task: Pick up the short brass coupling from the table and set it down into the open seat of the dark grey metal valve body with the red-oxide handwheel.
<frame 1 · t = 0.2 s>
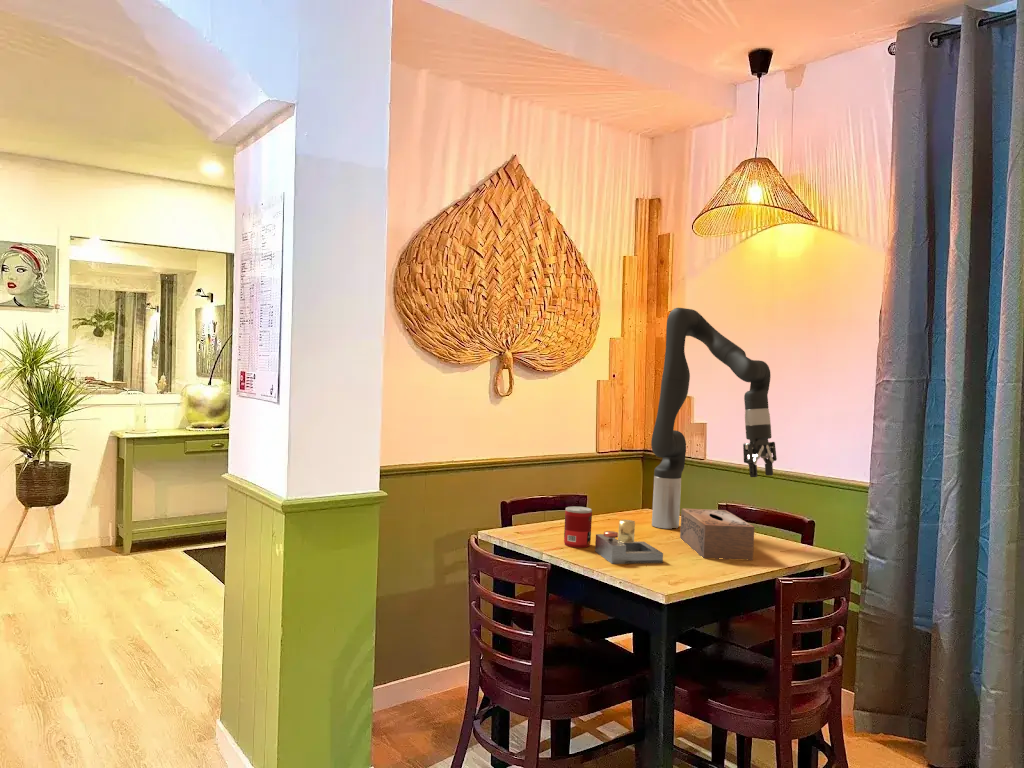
hand: (761, 476, 237), 22 cm above the table, tool pointing down, fingers open, 8 cm apart
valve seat: (634, 557, 218), on the table
tissue box cover: (714, 550, 234), on the table
canned food: (577, 545, 230), on the table
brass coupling: (625, 543, 235), on the table
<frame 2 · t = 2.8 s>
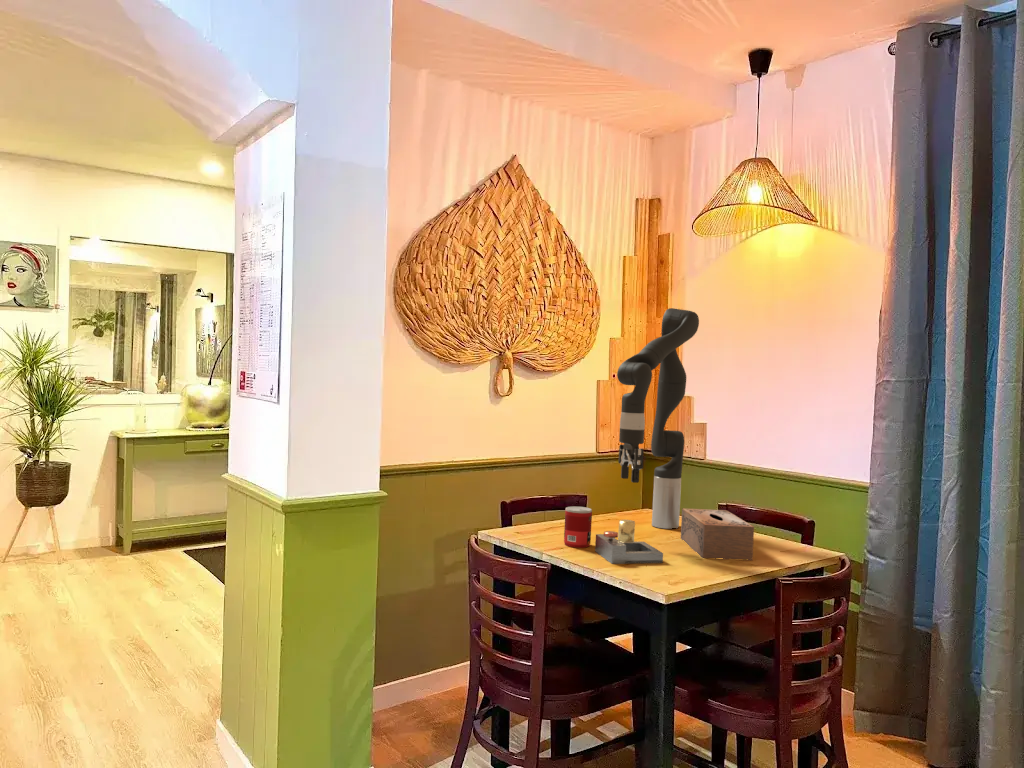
hand: (629, 480, 234), 20 cm above the table, tool pointing down, fingers open, 8 cm apart
nothing on the table moved.
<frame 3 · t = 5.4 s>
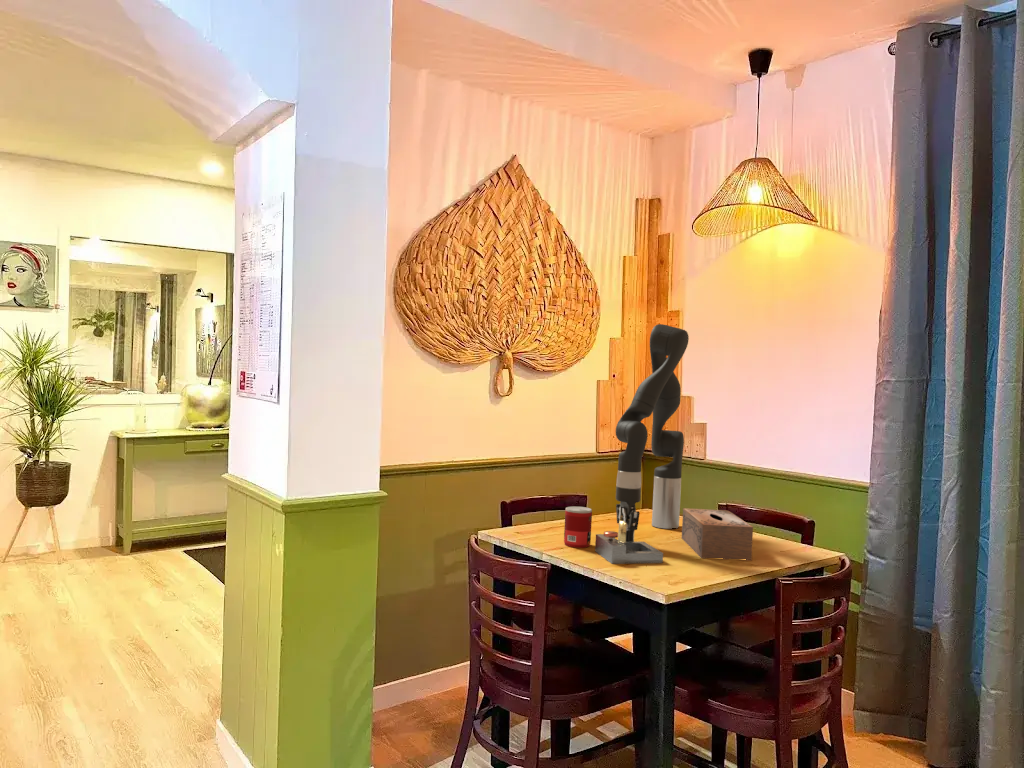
hand: (626, 540, 235), 1 cm above the table, tool pointing down, fingers closed on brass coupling, 4 cm apart
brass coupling: (625, 543, 235), on the table, touching gripper
everything else where it was.
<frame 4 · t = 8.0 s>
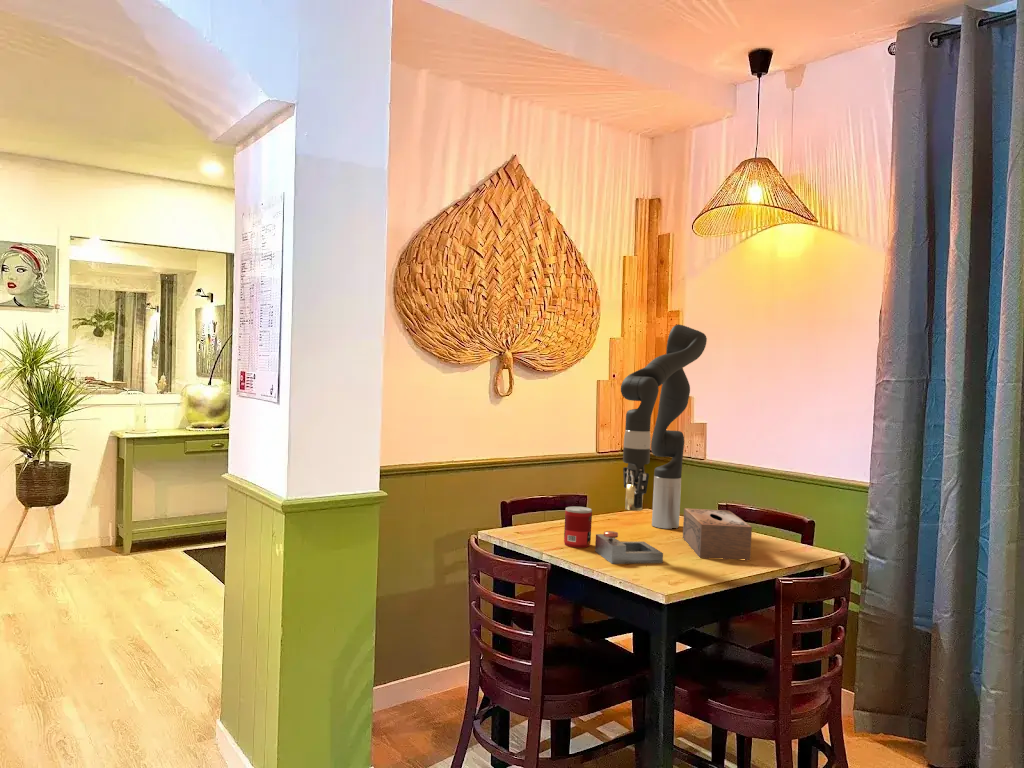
hand: (634, 505, 218), 15 cm above the table, tool pointing down, fingers closed on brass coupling, 4 cm apart
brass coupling: (633, 509, 218), point 14 cm above the table, touching gripper
everything else where it was.
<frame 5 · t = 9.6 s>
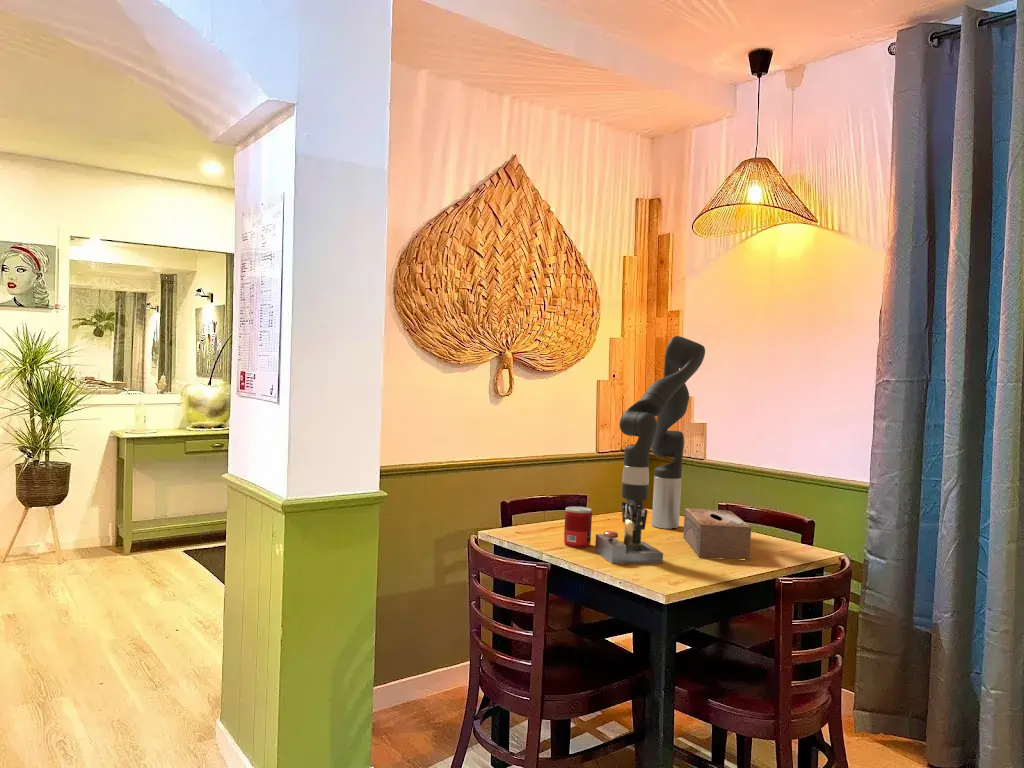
hand: (632, 541, 218), 5 cm above the table, tool pointing down, fingers closed on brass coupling, 4 cm apart
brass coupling: (632, 544, 218), point 4 cm above the table, touching gripper
everything else where it was.
when the fingers open (3 cm above the table, at t = 10.8 s): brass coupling drops 1 cm, resting on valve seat.
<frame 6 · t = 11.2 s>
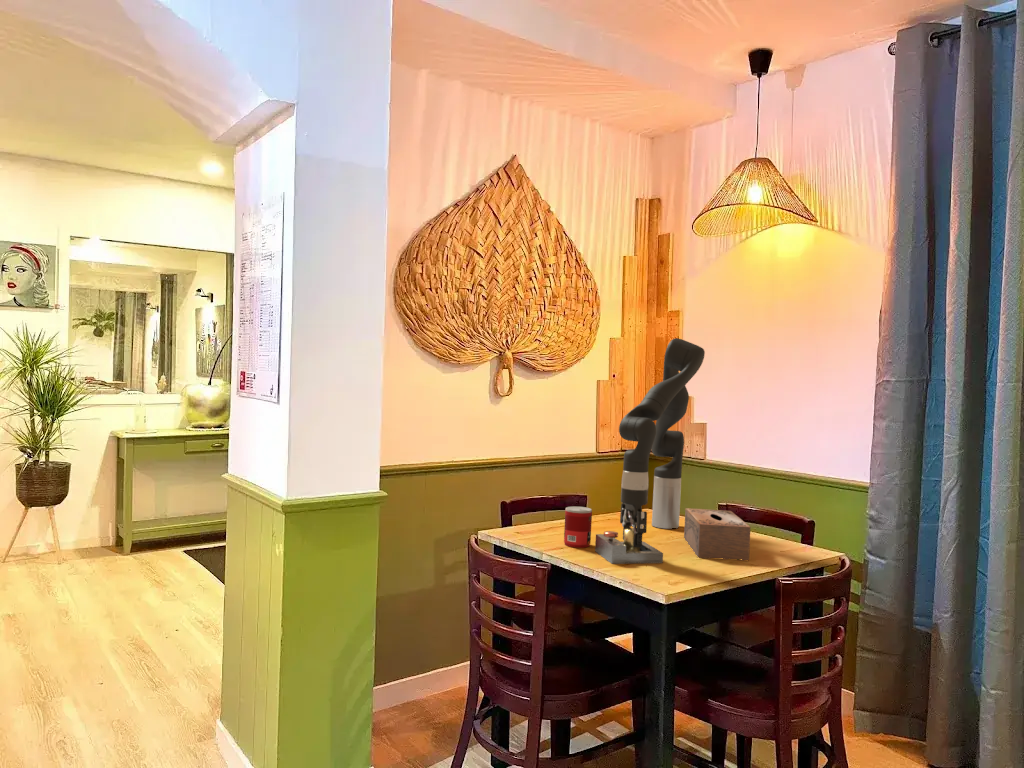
hand: (632, 543, 218), 4 cm above the table, tool pointing down, fingers open, 8 cm apart
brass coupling: (631, 554, 218), point 1 cm above the table, touching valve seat
everything else where it was.
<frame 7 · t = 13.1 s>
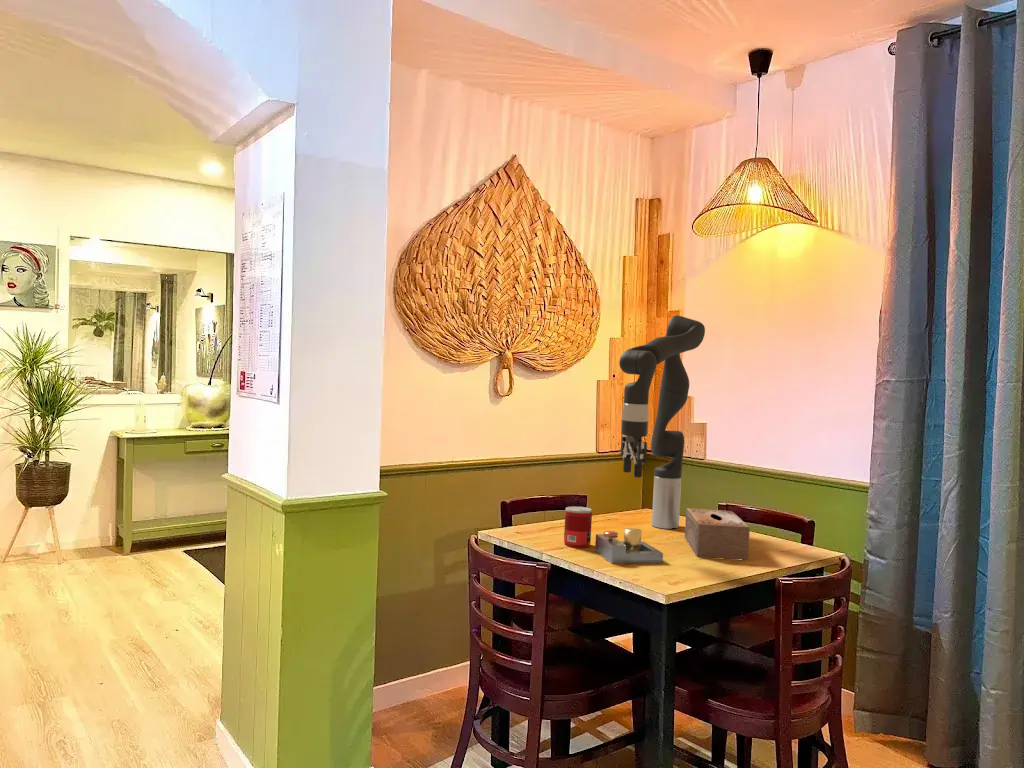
hand: (632, 474, 222), 23 cm above the table, tool pointing down, fingers open, 8 cm apart
nothing on the table moved.
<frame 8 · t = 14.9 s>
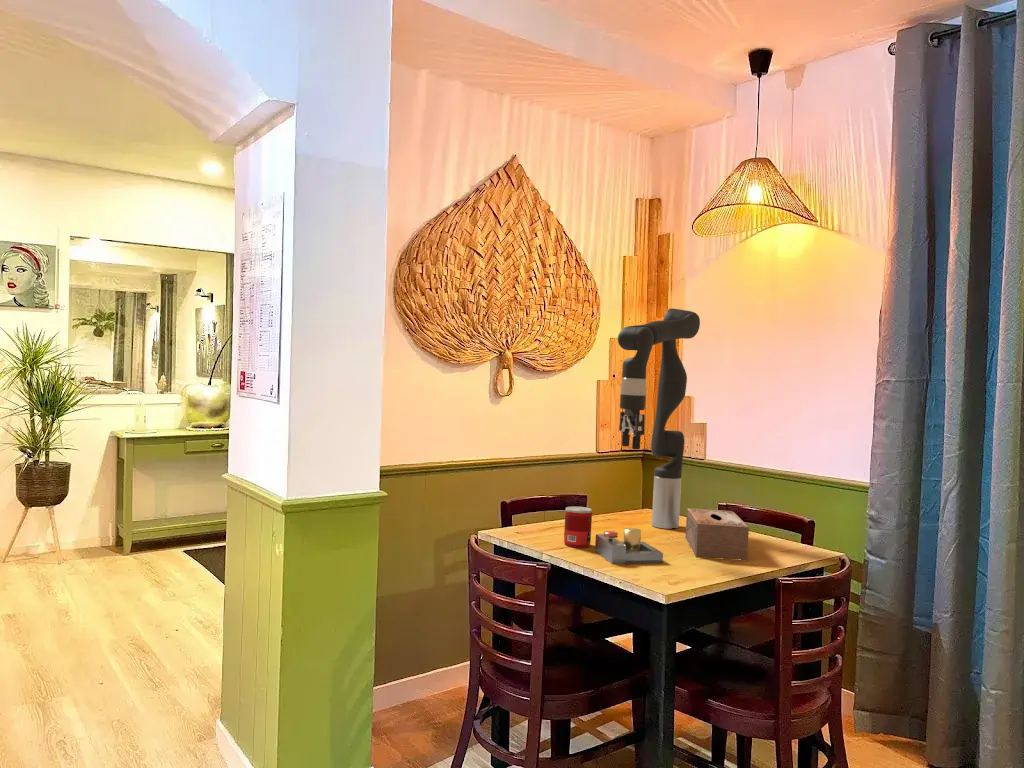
hand: (630, 447, 229), 30 cm above the table, tool pointing down, fingers open, 8 cm apart
at the end: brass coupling inside the target area on the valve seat (0.2 cm from its centre), point 0.8 cm above the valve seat's base; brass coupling tilted 1°; the gripper is holding nothing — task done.
